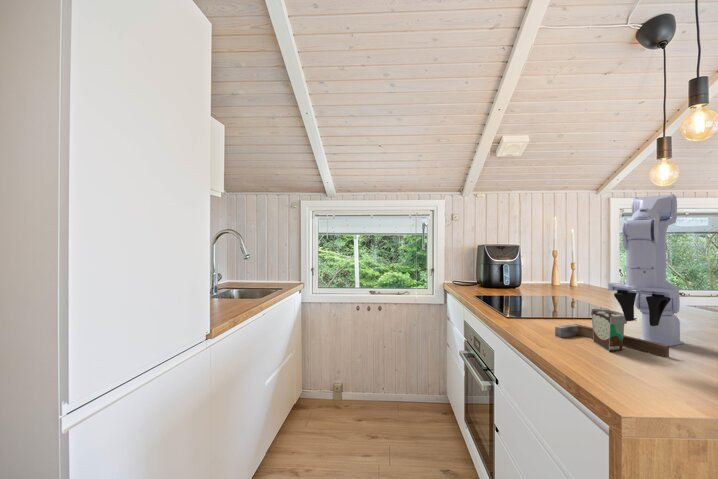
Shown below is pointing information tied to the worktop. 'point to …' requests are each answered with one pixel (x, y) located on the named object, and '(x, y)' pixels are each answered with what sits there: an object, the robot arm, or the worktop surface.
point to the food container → (608, 329)
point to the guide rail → (627, 340)
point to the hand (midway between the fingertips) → (641, 323)
